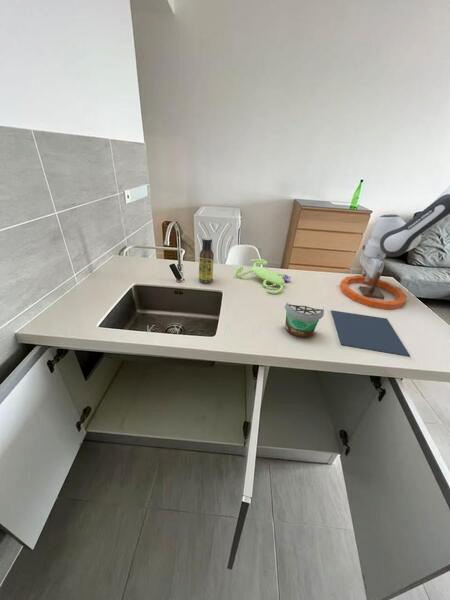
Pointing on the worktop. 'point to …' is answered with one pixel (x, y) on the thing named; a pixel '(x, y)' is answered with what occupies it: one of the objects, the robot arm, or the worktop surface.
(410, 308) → the worktop surface
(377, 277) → the post
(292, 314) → the food container
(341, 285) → the ring
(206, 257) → the sauce bottle
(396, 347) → the mat
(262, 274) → the figurine
